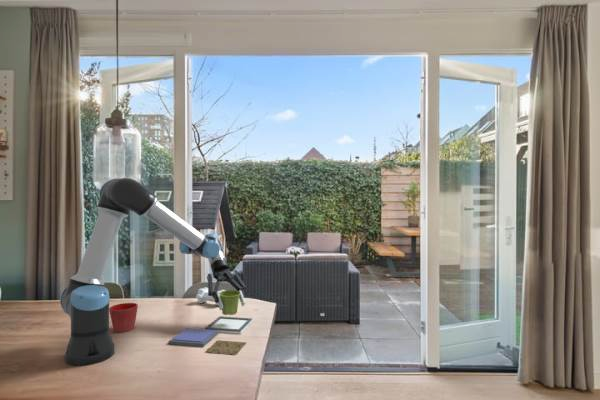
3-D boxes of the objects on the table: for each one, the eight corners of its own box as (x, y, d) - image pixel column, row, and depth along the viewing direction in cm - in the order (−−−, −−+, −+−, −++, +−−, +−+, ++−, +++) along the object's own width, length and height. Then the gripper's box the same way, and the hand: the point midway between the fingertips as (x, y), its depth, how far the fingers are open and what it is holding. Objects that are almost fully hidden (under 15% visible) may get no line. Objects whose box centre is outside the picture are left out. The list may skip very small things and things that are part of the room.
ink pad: (203, 346, 138) (203, 342, 138) (168, 344, 141) (168, 340, 141) (218, 333, 152) (218, 329, 152) (186, 331, 155) (186, 327, 155)
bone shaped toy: (228, 305, 194) (229, 289, 195) (217, 308, 186) (218, 291, 187) (205, 301, 201) (206, 286, 202) (194, 304, 193) (195, 288, 194)
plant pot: (245, 313, 161) (245, 293, 161) (227, 318, 154) (227, 297, 154) (232, 308, 168) (232, 289, 168) (214, 313, 161) (214, 293, 161)
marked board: (240, 334, 151) (240, 330, 151) (203, 331, 154) (203, 328, 154) (253, 321, 167) (253, 318, 167) (219, 318, 170) (219, 316, 170)
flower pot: (105, 329, 157) (105, 306, 156) (131, 323, 165) (131, 301, 164) (115, 336, 149) (115, 311, 149) (142, 328, 157) (142, 305, 157)
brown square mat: (247, 343, 143) (247, 340, 143) (235, 356, 131) (235, 353, 131) (217, 341, 145) (217, 338, 145) (203, 354, 133) (203, 351, 133)
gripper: (238, 265, 180) (253, 306, 167) (192, 271, 167) (205, 315, 154) (243, 256, 175) (259, 297, 162) (196, 260, 163) (210, 306, 150)
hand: (232, 306), depth 158 cm, fingers closed on plant pot, 9 cm apart
